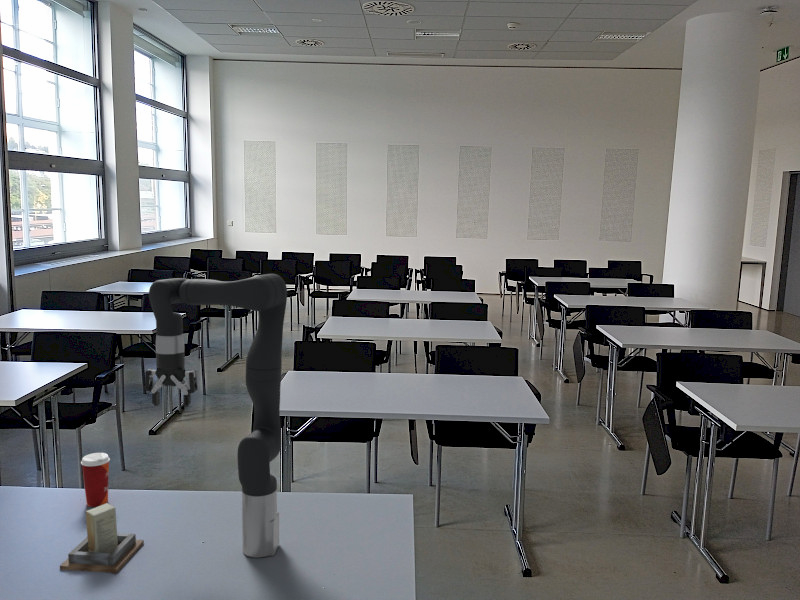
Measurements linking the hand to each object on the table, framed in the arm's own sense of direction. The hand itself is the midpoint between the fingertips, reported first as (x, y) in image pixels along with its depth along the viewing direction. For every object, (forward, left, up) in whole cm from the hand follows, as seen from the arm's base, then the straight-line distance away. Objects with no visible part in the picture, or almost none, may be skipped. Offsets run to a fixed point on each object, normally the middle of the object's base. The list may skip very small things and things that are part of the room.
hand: (171, 406), depth 188 cm
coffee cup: (+30, -12, -36) cm, 49 cm away
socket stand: (+12, +18, -36) cm, 42 cm away
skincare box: (+12, +18, -35) cm, 41 cm away
